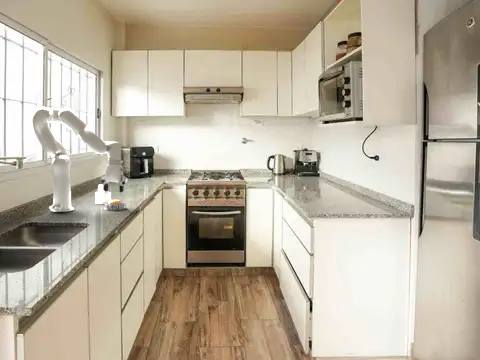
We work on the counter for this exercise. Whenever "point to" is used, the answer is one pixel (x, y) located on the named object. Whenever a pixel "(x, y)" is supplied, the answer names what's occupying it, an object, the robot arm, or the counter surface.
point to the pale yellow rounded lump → (114, 202)
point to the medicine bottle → (102, 195)
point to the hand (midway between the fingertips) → (113, 191)
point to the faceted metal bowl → (115, 206)
